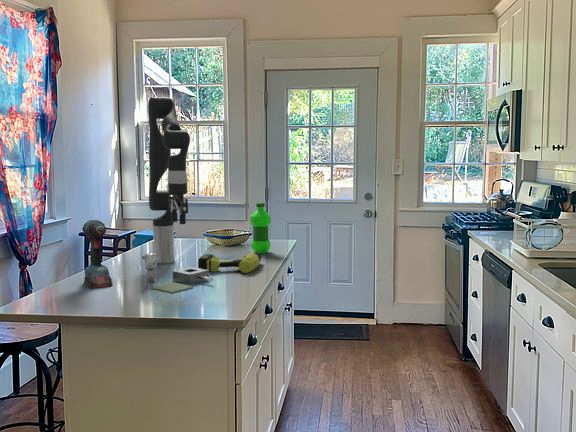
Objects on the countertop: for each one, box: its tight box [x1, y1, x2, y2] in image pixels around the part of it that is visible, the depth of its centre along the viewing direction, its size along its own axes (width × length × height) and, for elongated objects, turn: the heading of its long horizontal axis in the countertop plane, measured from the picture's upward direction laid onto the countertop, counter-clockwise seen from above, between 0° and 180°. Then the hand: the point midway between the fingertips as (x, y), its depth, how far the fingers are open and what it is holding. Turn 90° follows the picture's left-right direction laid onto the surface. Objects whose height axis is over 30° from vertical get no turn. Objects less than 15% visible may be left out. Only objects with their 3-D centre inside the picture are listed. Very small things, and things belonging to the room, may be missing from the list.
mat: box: [150, 281, 194, 294], centre depth 215 cm, size 12×10×1 cm
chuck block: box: [172, 266, 214, 286], centre depth 225 cm, size 17×10×4 cm, turn 52°
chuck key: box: [141, 252, 158, 284], centre depth 225 cm, size 5×7×11 cm
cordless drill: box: [197, 251, 262, 274], centre depth 251 cm, size 7×25×25 cm
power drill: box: [82, 219, 114, 289], centre depth 220 cm, size 9×23×25 cm, turn 27°
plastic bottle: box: [250, 202, 272, 254], centre depth 286 cm, size 10×10×25 cm
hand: (178, 222), depth 227 cm, fingers open, 8 cm apart
